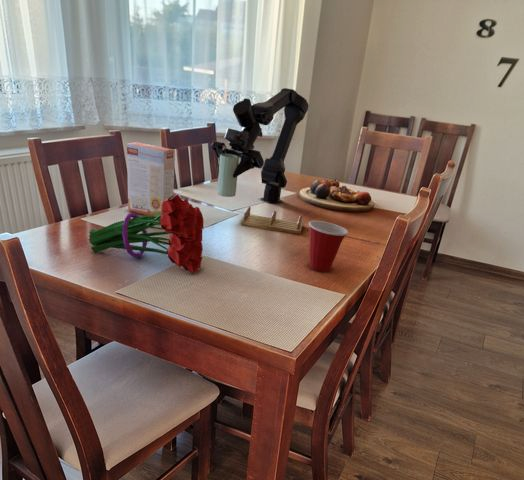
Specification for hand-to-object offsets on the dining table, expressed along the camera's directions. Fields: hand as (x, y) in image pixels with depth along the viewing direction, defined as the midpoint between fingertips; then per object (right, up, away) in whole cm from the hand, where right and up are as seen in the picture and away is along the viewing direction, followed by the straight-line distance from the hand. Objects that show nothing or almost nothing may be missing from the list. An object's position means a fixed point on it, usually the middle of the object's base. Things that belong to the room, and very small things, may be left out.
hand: (225, 174), depth 159 cm
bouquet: (-18, -35, -36) cm, 54 cm away
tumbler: (0, -5, +4) cm, 7 cm away
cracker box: (-24, -14, -2) cm, 28 cm away
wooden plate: (+44, +5, +44) cm, 62 cm away
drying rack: (+16, -16, +4) cm, 23 cm away
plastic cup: (+29, -36, -25) cm, 52 cm away
